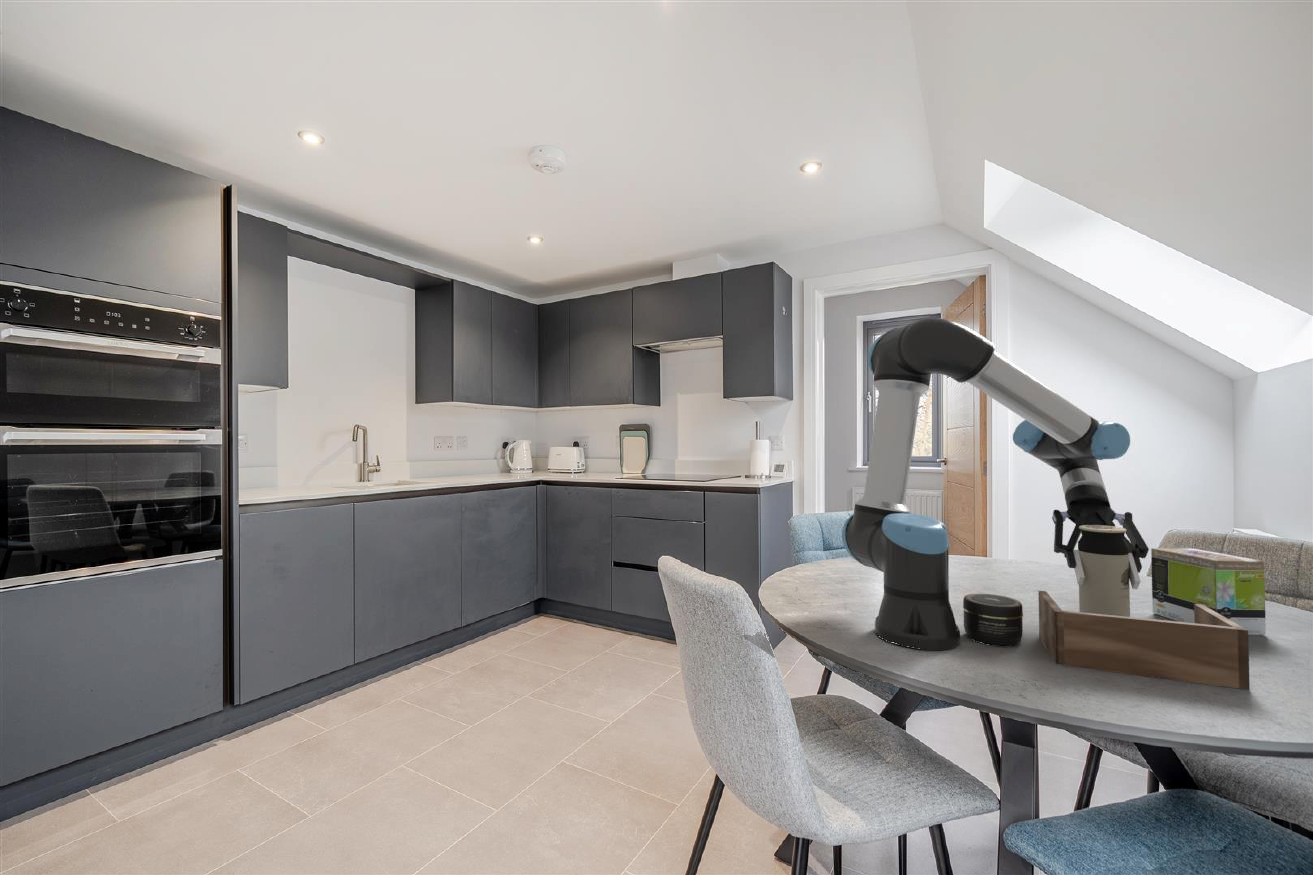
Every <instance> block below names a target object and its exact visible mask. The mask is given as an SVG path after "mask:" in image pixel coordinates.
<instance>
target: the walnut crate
mask: <svg viewBox="0 0 1313 875" xmlns="http://www.w3.org/2000/svg"><path fill="white" fill-rule="evenodd" d="M1037 591H1038V631H1039V632H1038V634H1039V635H1038V636H1039V639H1040V641H1041V642H1042V644H1043V645H1044V647H1045V649H1046V650H1047V652H1048V653H1049V655H1050V657H1051V658H1052V660H1053V662H1054V663H1055V665H1058V666H1065V667H1066V666H1067V667H1073V668H1079V669H1080V668H1081V669H1088V670H1089V669H1090V670H1097V671H1103V672H1104V671H1105V672H1113V673H1119V674H1126V675H1133V676H1134V675H1136V676H1143V677H1150V678H1156V679H1157V678H1159V679H1163V680H1164V679H1165V680H1174V681H1180V682H1187V683H1196V684H1202V685H1203V684H1204V685H1211V686H1218V687H1224V688H1225V687H1226V688H1232V689H1233V688H1234V689H1240V690H1241V689H1242V690H1249V691H1250V690H1251V689H1250V687H1251V686H1250V685H1251V684H1250V656H1249V655H1250V652H1249V651H1250V648H1249V635H1248V630H1247V629H1245V628H1243V627H1241V626H1239V625H1238V624H1236V623H1234V622H1232V621H1231V620H1229V619H1227V618H1225V617H1224V616H1222V615H1220V614H1218V613H1217V612H1215V611H1213V610H1211V609H1210V608H1208V607H1206V606H1204V605H1200V604H1194V621H1195V623H1186V622H1178V621H1175V620H1166V619H1165V620H1164V619H1154V618H1144V617H1143V618H1142V617H1132V616H1130V617H1125V616H1114V615H1104V614H1094V613H1084V612H1079V611H1074V610H1073V611H1071V610H1062V609H1061V607H1060V606H1059V605H1058V604H1057V603H1056V602H1055V600H1054V599H1053V598H1052V597H1051V596H1050V594H1049V592H1047V591H1046V590H1045V591H1044V590H1037Z"/></svg>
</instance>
